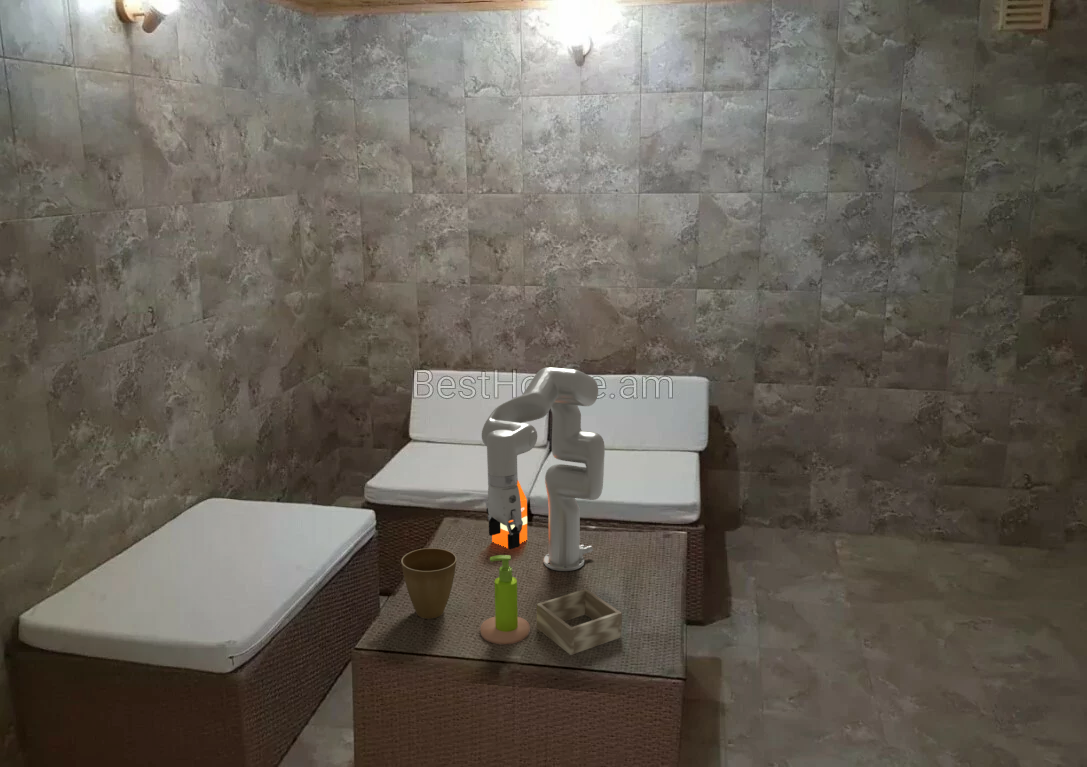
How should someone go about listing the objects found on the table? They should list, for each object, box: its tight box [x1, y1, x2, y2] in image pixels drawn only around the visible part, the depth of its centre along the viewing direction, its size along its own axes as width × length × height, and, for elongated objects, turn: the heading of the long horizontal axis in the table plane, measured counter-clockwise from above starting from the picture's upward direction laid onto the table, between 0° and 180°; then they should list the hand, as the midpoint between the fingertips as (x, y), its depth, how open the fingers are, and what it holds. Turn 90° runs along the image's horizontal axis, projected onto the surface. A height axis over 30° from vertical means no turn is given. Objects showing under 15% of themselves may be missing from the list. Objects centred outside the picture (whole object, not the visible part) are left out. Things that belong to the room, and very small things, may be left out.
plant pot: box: [400, 547, 458, 620], centre depth 247 cm, size 15×15×16 cm
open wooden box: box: [536, 588, 623, 656], centre depth 237 cm, size 16×16×7 cm
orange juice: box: [491, 480, 528, 549], centre depth 292 cm, size 8×9×20 cm
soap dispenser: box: [489, 554, 519, 632], centre depth 236 cm, size 6×7×20 cm
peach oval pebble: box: [479, 616, 531, 645], centre depth 239 cm, size 13×13×1 cm
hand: (504, 540), depth 233 cm, fingers open, 9 cm apart
